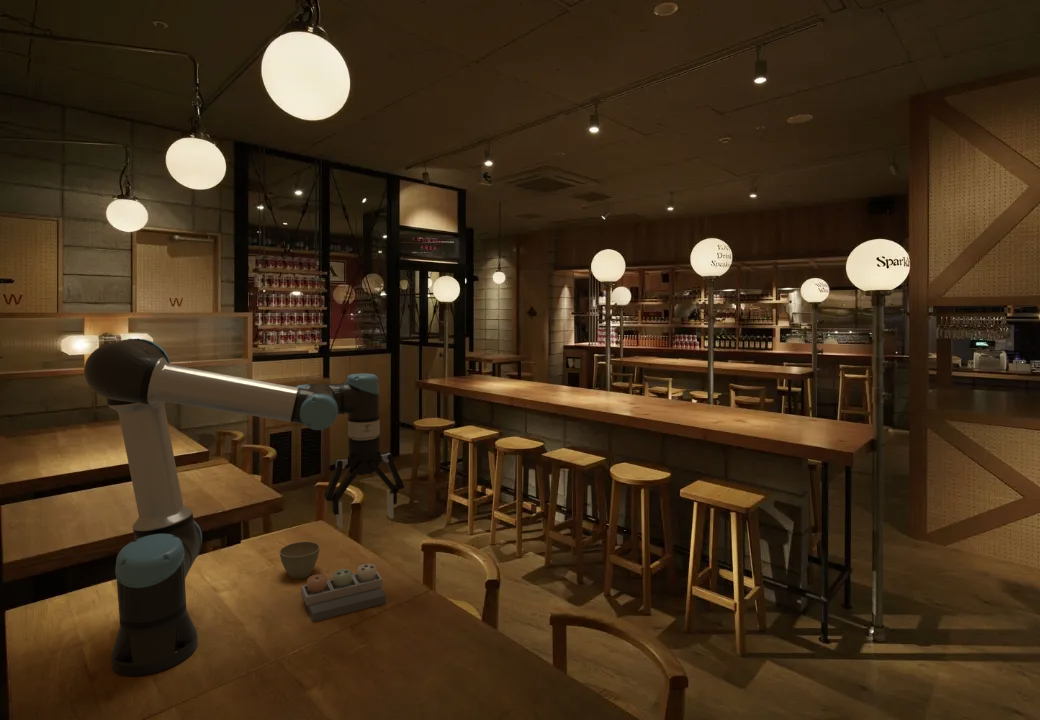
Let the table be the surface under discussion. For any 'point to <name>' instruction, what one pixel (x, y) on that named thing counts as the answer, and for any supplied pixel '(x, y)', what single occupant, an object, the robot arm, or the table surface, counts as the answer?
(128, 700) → the table surface
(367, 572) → the cream button
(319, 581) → the terracotta button
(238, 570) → the table surface
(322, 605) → the panel
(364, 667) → the table surface
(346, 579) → the sage button
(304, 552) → the grey bowl
